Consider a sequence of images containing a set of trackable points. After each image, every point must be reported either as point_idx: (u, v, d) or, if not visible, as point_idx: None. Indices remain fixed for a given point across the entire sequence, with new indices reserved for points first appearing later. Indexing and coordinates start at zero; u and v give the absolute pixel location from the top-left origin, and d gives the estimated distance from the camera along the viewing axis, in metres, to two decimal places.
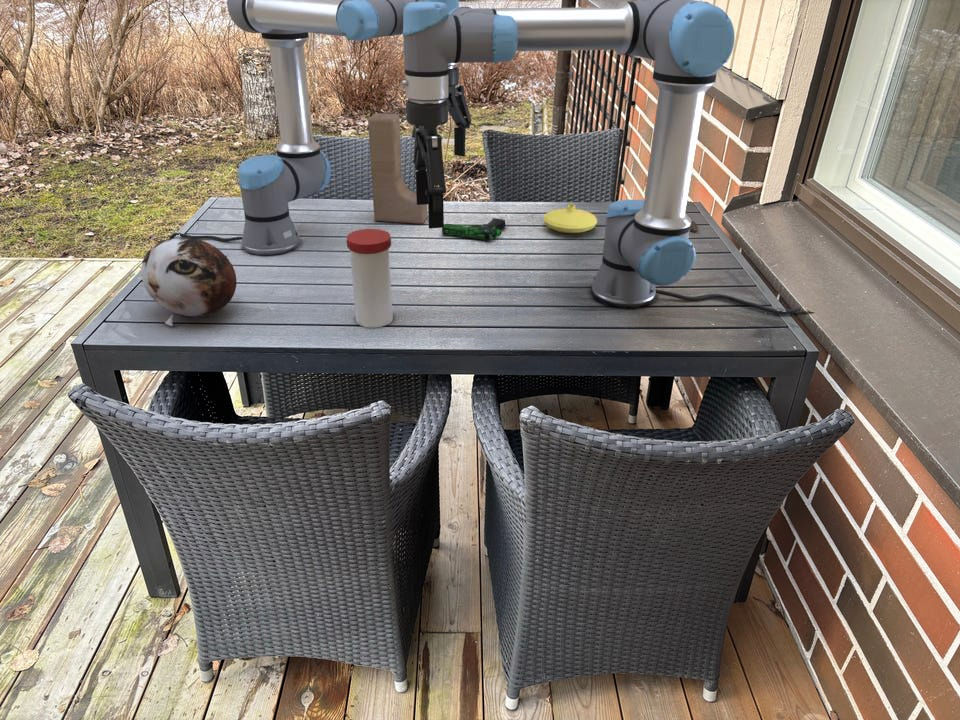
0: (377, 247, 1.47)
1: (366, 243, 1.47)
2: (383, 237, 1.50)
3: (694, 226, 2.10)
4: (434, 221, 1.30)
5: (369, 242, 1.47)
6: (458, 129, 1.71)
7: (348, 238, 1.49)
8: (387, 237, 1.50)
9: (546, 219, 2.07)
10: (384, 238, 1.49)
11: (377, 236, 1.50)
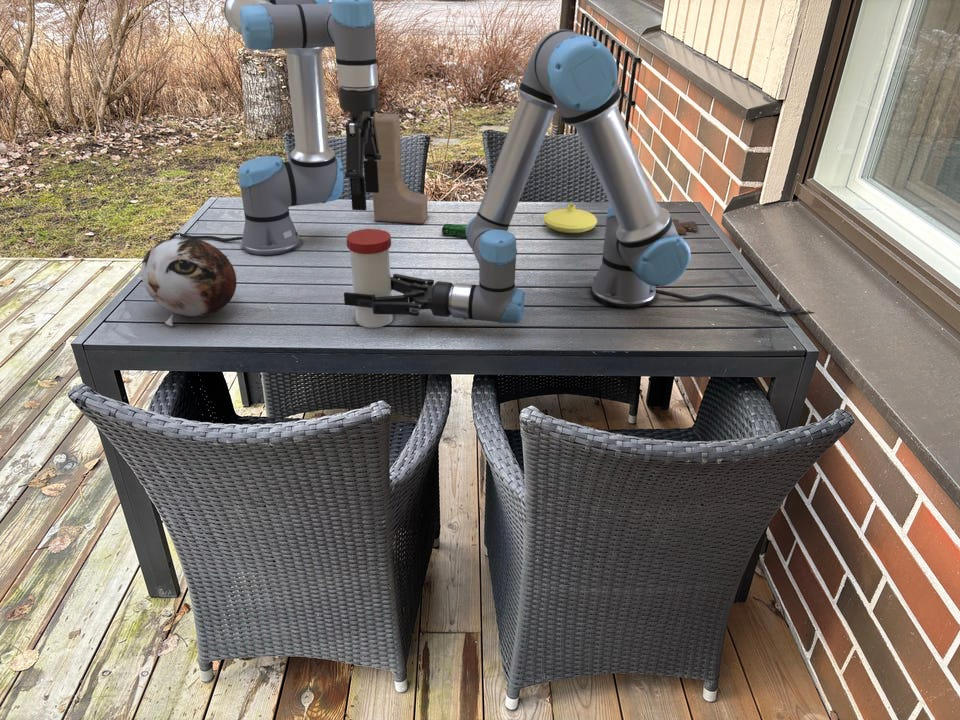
0: (377, 247, 1.47)
1: (366, 243, 1.47)
2: (383, 237, 1.50)
3: (694, 226, 2.10)
4: None
5: (369, 242, 1.47)
6: None
7: (348, 238, 1.49)
8: (387, 237, 1.50)
9: (546, 219, 2.07)
10: (384, 238, 1.49)
11: (377, 236, 1.50)
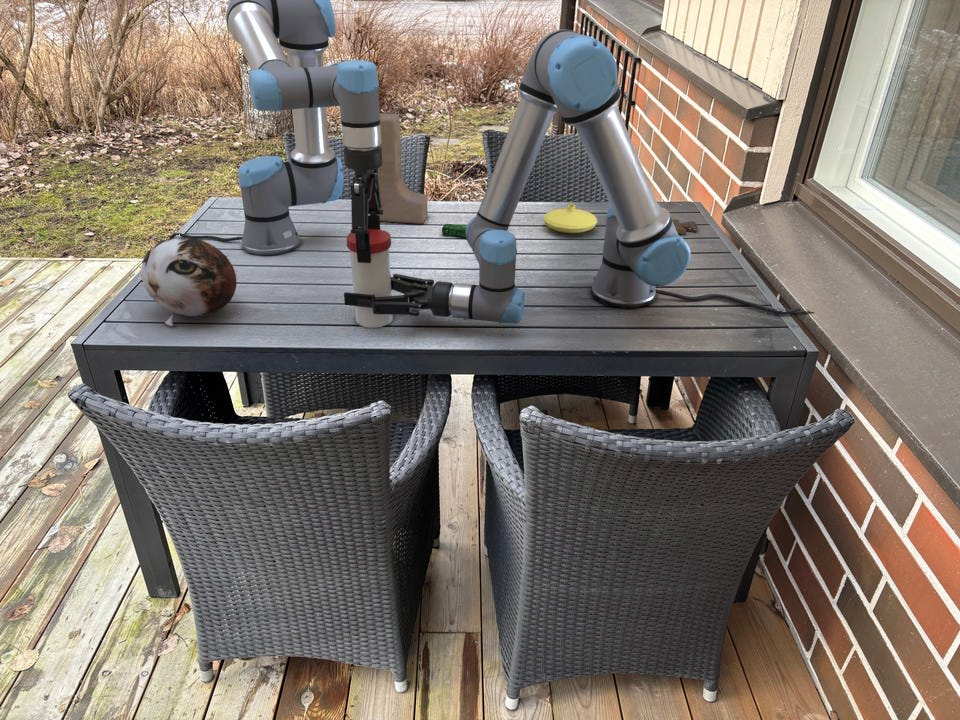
0: (377, 247, 1.47)
1: None
2: (383, 237, 1.50)
3: (694, 226, 2.10)
4: None
5: None
6: None
7: (348, 238, 1.49)
8: (387, 237, 1.50)
9: (546, 219, 2.07)
10: (384, 238, 1.49)
11: (377, 236, 1.50)
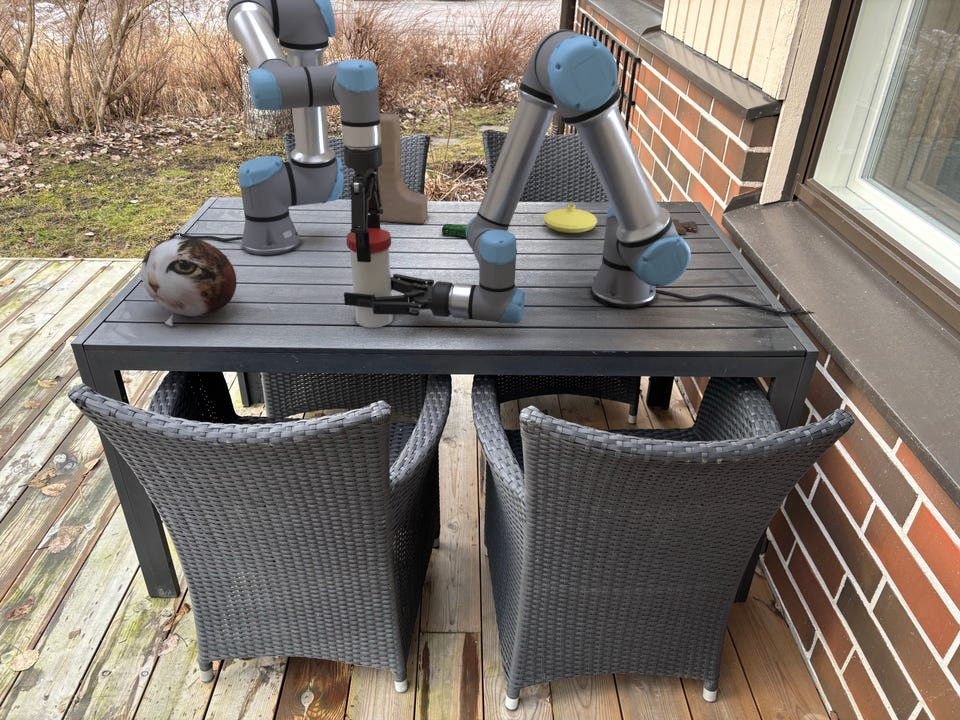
0: None
1: (386, 232, 1.52)
2: None
3: (694, 226, 2.10)
4: None
5: (382, 232, 1.52)
6: None
7: (381, 240, 1.48)
8: None
9: (546, 219, 2.07)
10: None
11: None
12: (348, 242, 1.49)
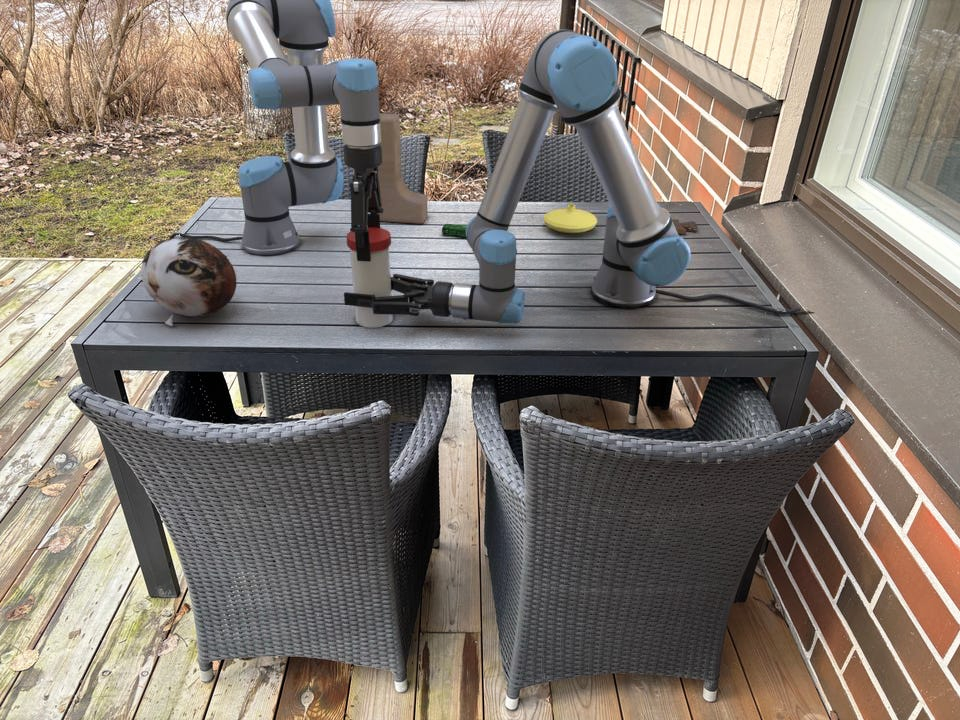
0: None
1: None
2: None
3: (694, 226, 2.10)
4: None
5: (354, 232, 1.51)
6: None
7: (376, 228, 1.54)
8: (354, 240, 1.47)
9: (546, 219, 2.07)
10: (354, 238, 1.48)
11: None
12: (386, 242, 1.48)
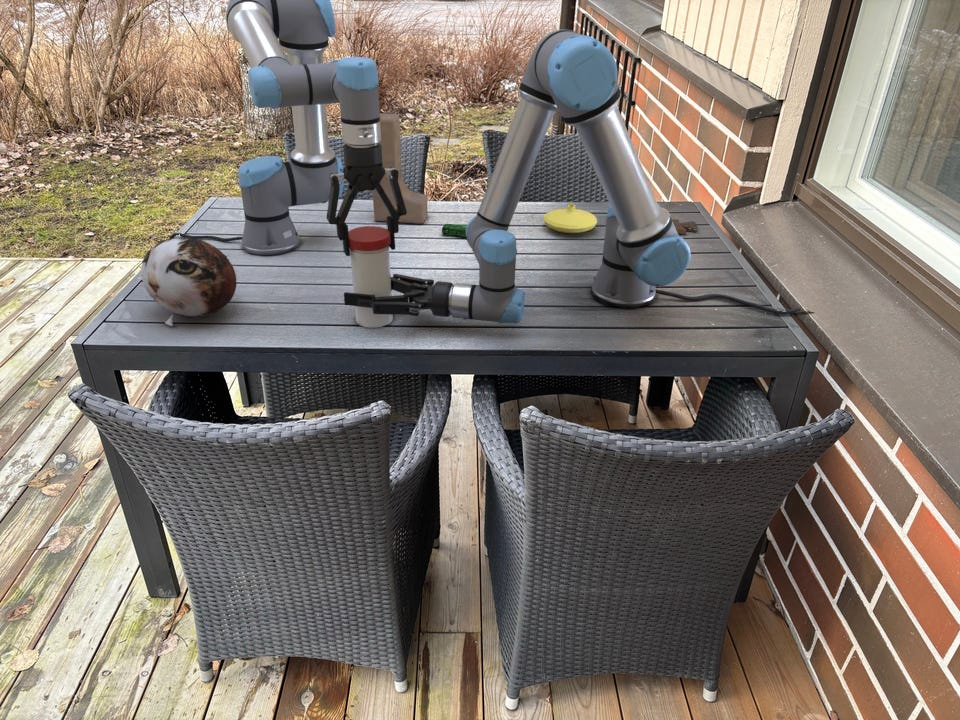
0: (375, 245, 1.47)
1: (365, 240, 1.47)
2: (383, 235, 1.50)
3: (694, 226, 2.10)
4: None
5: (368, 239, 1.47)
6: (388, 219, 1.50)
7: None
8: (386, 235, 1.49)
9: (546, 219, 2.07)
10: (384, 236, 1.49)
11: (377, 233, 1.50)
12: None
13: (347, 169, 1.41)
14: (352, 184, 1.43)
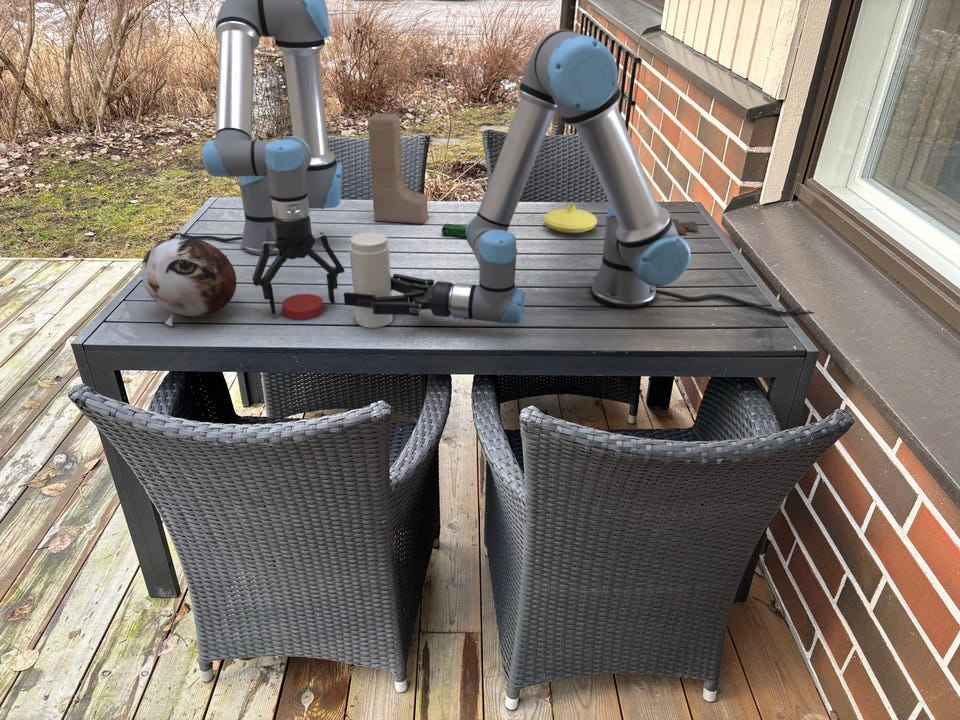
0: (308, 314, 1.59)
1: (298, 310, 1.59)
2: (315, 303, 1.62)
3: (694, 226, 2.10)
4: None
5: (301, 309, 1.59)
6: (327, 276, 1.62)
7: (283, 304, 1.61)
8: (319, 304, 1.62)
9: (546, 219, 2.07)
10: (316, 304, 1.61)
11: (310, 302, 1.62)
12: None
13: (278, 240, 1.52)
14: (282, 252, 1.54)
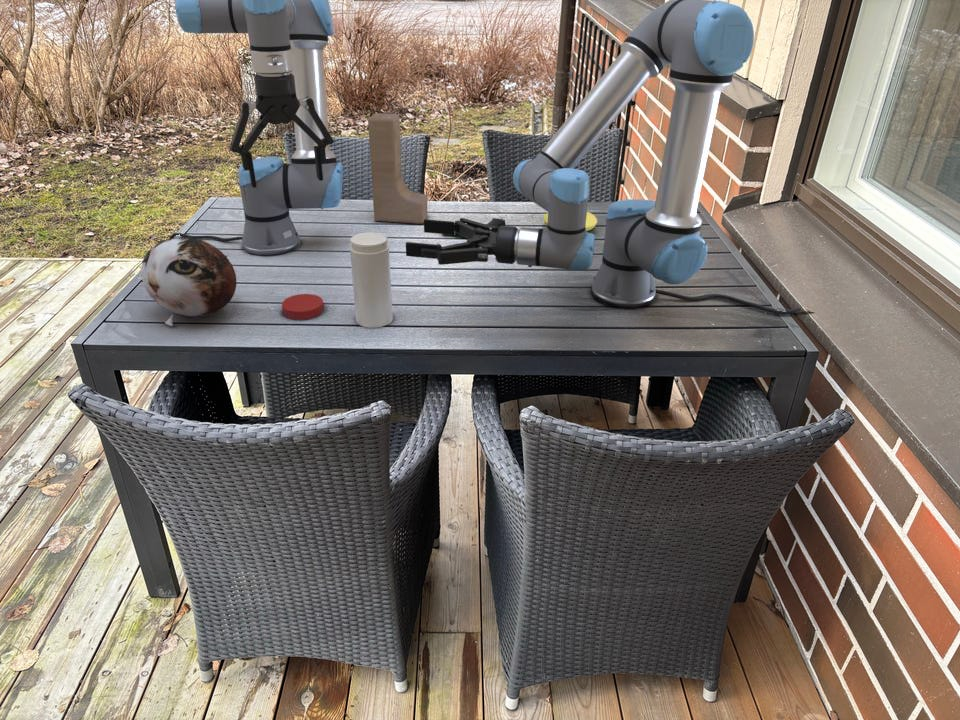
0: (308, 314, 1.59)
1: (298, 310, 1.59)
2: (315, 303, 1.62)
3: None
4: None
5: (301, 309, 1.59)
6: (315, 148, 1.47)
7: (283, 304, 1.61)
8: (319, 304, 1.62)
9: (546, 219, 2.07)
10: (316, 304, 1.61)
11: (310, 302, 1.62)
12: None
13: (259, 100, 1.38)
14: (263, 114, 1.39)
